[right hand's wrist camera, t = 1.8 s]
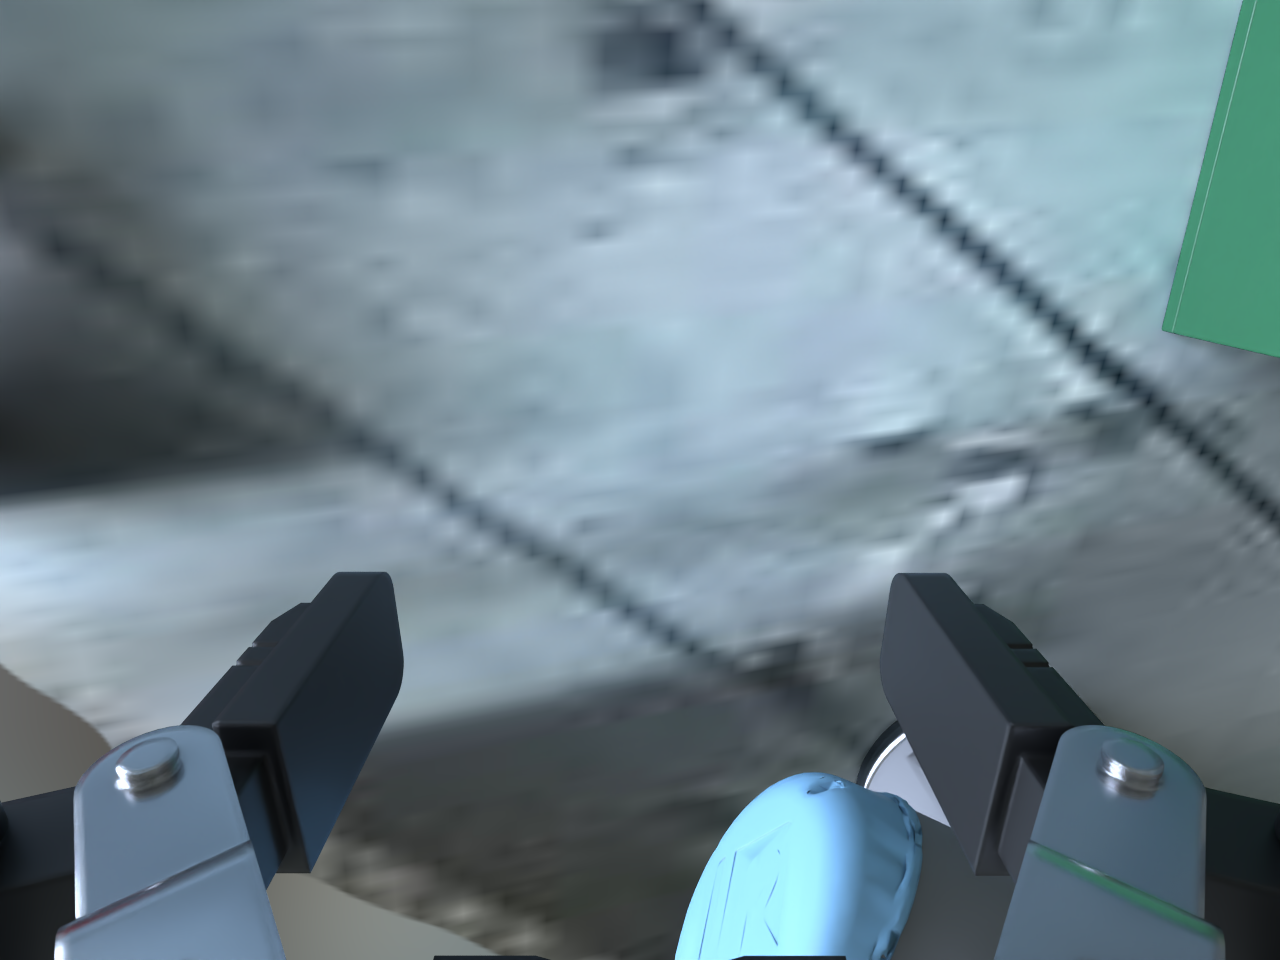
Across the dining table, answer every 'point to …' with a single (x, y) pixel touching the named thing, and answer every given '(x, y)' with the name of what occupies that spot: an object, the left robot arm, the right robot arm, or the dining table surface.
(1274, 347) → the cabinet
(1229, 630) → the dining table surface
